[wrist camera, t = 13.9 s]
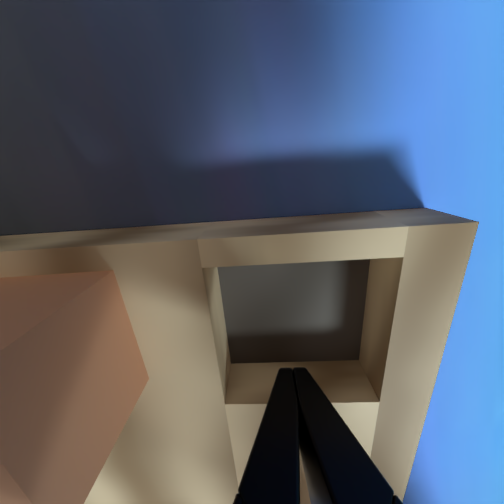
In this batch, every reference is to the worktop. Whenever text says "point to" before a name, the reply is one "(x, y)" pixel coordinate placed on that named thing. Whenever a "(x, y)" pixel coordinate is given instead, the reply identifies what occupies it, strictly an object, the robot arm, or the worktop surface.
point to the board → (266, 334)
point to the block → (63, 383)
